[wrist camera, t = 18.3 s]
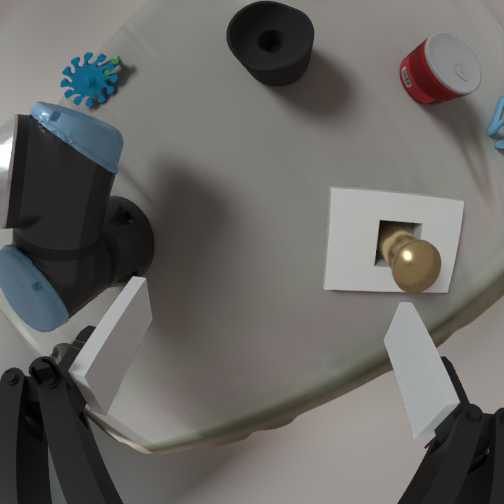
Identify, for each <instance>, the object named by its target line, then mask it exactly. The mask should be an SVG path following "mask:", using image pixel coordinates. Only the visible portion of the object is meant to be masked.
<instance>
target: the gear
mask: <svg viewBox="0 0 504 504" xmlns="http://www.w3.org/2000/svg"><path fill="white" fill-rule="evenodd" d="M92 56H93V53H91V52H87V53H86V54H85V55H84V59H85V60H84V64H83V66H82V67H80V66H78V63H79V61H80V58H79V57H75V58H73V59H72V60H71V63H72V64H73V65H74V67H75V73H74V74H73V73H71V68H70V67H69V66H67V67H66V68H65V69H64V71H63V72H62V73H63V74H64V75H67V76H69V77H70V78H71V79H72V82H69V81H68V80H67V79H66V78H64V79H63V80H62V82H61V87H66V86H70V87H73V88H74V91H72V90H66V92H65V97H66V98H69V97H70V96H72V95H73V94H81V96H80V97H76V98H75V99H74V101H73V102H74V103H75V104H76V105H79V104H80V102H81V100H82V98H84V97H85V96H89V97H90V98H89V99H88V100H87V101H86V106H92V105H93V103H94V101H93V96H94V94H95V93H98V94H99V98H98V102H99V103H101V102H104V101H105V99H106V96H105V95H104V94H103V92H102V87H106V88H107V93H108V94H111V93H113V91H114V90H115V87H114V86H112V85H109V84H108V83H107V82H106V80H105V79H106V78H109V79H110V80H111V82H116V80H117V78H118V74H110V72H111V70H114V68H115V67H116V66H117V65H118V62H119V60H120V57H119V56H115V57H114V58H112V59H110V60H108V61H107V62H105V63H103V64H102V65H100V66H98V65H97V63H98V62H103V61H104V60H105V59H106V56H105V55H104V54H100V55H99V56H98V58H97V60H96V61H95V62H94V63H92V64H89V63H88V60H90V59H91V58H92Z"/></svg>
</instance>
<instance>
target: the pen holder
mask: <svg viewBox="0 0 504 504" xmlns="http://www.w3.org/2000/svg"><path fill="white" fill-rule="evenodd" d="M226 37H227V43H228V46H229V48H230V50H231V51H232V53H233V54H234V56H235V57H236V58H237V59H238V60H239V61H240V62H241V64H242V65H243V66H244V67H245V68H246V69H247V70H248V72H249V73H250V74H251V75H252V76H253V77H254V78H256V79H257V80H258V81H260V82H262V83H264V84H267V85H271V86H284V85H288V84H291V83H293V82H295V81H297V80H298V79H299V78H301V77H302V75H303V74H304V73H305V71H306V70H307V67H308V64H309V61H310V56H311V51H312V46H313V41H314V28H313V25H312V22H311V20H310V19H309V17H308V16H307V15H306V14H304V13H303V12H301V11H300V10H297V9H295V8H292V7H290V6H287V5H284V4H281V3H277V2H273V1H259V2H255V3H252V4H249V5H247V6H245V7H244V8H242V9H241V10H240V11H238V12H237V13H236V14H235V15H234V17H233V18H232V19H231V21H230V23H229V25H228V28H227V36H226Z"/></svg>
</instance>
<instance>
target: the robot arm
mask: <svg viewBox="0 0 504 504" xmlns="http://www.w3.org/2000/svg"><path fill="white" fill-rule="evenodd" d="M122 148H123V137H122V135H121V133H120V132H119V130H117V129H116V128H115V127H113V126H111V125H109V124H107V123H105V122H103V121H101V120H98V119H96V118H93V117H91V116H88V115H86V114H83V113H80V112H77V111H75V110H72V109H69V108H65V107H62V106H59V105H54V104H49V103H45V102H36V103H35V104H34V106H33V107H32V108H31V109H30V115H20V114H14V115H12V116H11V117H10V118H9V119H8V120H6V121H5V122H4V123H3V124H2V125H1V126H0V228H1V229H7V228H13V240H12V244H11V245H6V246H4V247H3V249H1V250H0V286H1V288H2V291H3V293H4V295H5V297H6V299H7V300H8V302H9V304H10V305H11V307H12V308H13V310H14V311H15V312H16V313H17V315H18V316H19V317H20V318H21V319H22V320H23V321H24V322H25V323H26V324H27V325H29V326H30V327H32V328H33V329H35V330H37V331H40V332H51V331H53V330H54V329H56V328H58V327H59V326H61V325H62V324H65V323H67V322H68V321H69V319H70V318H71V317H72V316H73V315H74V314H76V313H77V312H78V311H79V310H81V309H82V308H83V307H84V306H86V305H87V304H88V303H89V302H91V301H92V300H93V299H94V298H96V297H97V296H98V295H99V294H101V293H102V292H103V291H104V290H106V289H107V288H111V287H116V286H121V285H126V284H127V285H126V286H125V288H124V289H123V290H122V292H121V293H120V294H119V296H118V297H117V299H116V300H115V301H114V303H113V304H112V306H111V307H110V308H109V310H108V311H107V313H106V314H105V316H104V317H103V318H102V320H101V321H100V323H99V324H98V326H97V327H94V326H90V325H89V326H87V327H86V328H85V329H83V330H82V331H81V332H80V333H79V334H78V336H77V337H76V339H75V341H74V342H73V343H72V344H71V347H69V349H68V350H67V352H66V353H65V355H64V356H63V358H62V359H61V361H60V362H59V364H58V365H57V364H56V362H55V360H54V359H52V358H51V357H48V356H43V357H39V358H37V359H35V360H34V361H33V362H32V363H31V365H30V367H29V373H30V375H31V377H29V376H25V375H24V374H23V372H22V371H21V370H20V369H19V368H10V369H8V370H7V371H5V372H4V374H3V375H2V377H1V381H0V504H52V500H51V491H50V480H49V465H48V445H49V449H50V453H51V456H52V460H53V463H54V467H55V470H56V473H57V477H58V480H59V483H60V485H61V488H62V491H63V494H64V497H65V499H66V502H67V504H123V502H122V500H121V498H120V496H119V494H118V492H117V490H116V488H115V486H114V484H113V482H112V480H111V478H110V475H109V473H108V471H107V469H106V466H105V464H104V462H103V459H102V457H101V454H100V452H99V449H98V447H97V444H96V441H95V439H94V436H93V433H92V430H91V428H90V425H89V422H88V419H87V416H86V413H85V411H84V408H85V406H86V404H88V406H89V408H90V409H91V410H92V411H95V412H97V413H100V414H103V415H106V414H107V412H108V410H109V408H110V405H111V403H112V401H113V399H114V397H115V395H116V392H117V390H118V388H119V386H120V384H121V382H122V380H123V378H124V376H125V373H126V371H127V369H128V367H129V365H130V363H131V361H132V359H133V357H134V355H135V353H136V351H137V349H138V347H139V345H140V343H141V341H142V339H143V337H144V335H145V333H146V331H147V329H148V327H149V325H150V323H151V321H152V320H153V318H152V312H151V307H150V300H149V294H148V287H147V280H146V278H142V277H140V276H141V275H143V274H144V273H145V272H146V271H147V269H148V268H149V266H150V264H151V261H152V258H153V253H154V239H153V234H152V230H151V227H150V225H149V223H148V220H147V219H146V217H145V215H144V214H143V213H142V211H141V210H140V209H139V208H138V207H137V206H136V205H135V204H134V203H132V202H131V201H129V200H127V199H125V198H123V197H119V196H110V193H111V189H112V186H113V182H114V179H115V175H116V174H117V173H118V168H117V167H118V163H119V159H120V155H121V151H122ZM384 343H385V346H386V349H387V351H388V354H389V357H390V360H391V363H392V366H393V369H394V372H395V375H396V379H397V382H398V385H399V388H400V391H401V395H402V398H403V401H404V405H405V408H406V412H407V415H408V419H409V423H410V427H411V430H412V434H413V438H414V439H420V438H425V437H428V436H429V435H430V434H431V433H432V432H433V431H435V434H436V436H435V437H434V438H433V439H432V440H431V441H430V442H429V443H428V444H427V445H426V446H425V447H424V448H425V449H426V448H427V447H428V446H429V445H430V446H429V448H428V450H427V453H426V454H425V456H424V459H423V460H422V462H421V464H420V466H419V468H418V470H417V472H416V474H415V475H414V477H413V479H412V481H411V482H410V484H409V486H408V487H407V489H406V491H405V492H404V494H403V496H402V497H401V499H400V500H399V502H398V503H397V504H504V408H500V409H498V410H497V411H496V412H495V413H494V414H487V413H483V412H482V410H481V409H480V408H479V407H478V406H477V405H474V404H470V403H469V401H468V398H467V396H466V393H465V391H464V389H463V387H462V384H461V382H460V380H459V378H458V376H457V374H456V372H455V369H454V367H453V365H452V363H451V362H450V361H449V360H448V359H447V358H446V357H445V356H444V357H440V356H439V354H438V352H437V349H436V347H435V345H434V343H433V341H432V339H431V337H430V335H429V333H428V332H427V330H426V328H425V326H424V324H423V322H422V320H421V318H420V316H419V315H418V313H417V311H416V309H415V307H414V305H413V304H412V303H408V302H400V304H399V306H398V309H397V311H396V313H395V316H394V318H393V320H392V323H391V325H390V327H389V330H388V332H387V334H386V336H385V338H384ZM488 449H489V452H488Z"/></svg>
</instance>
